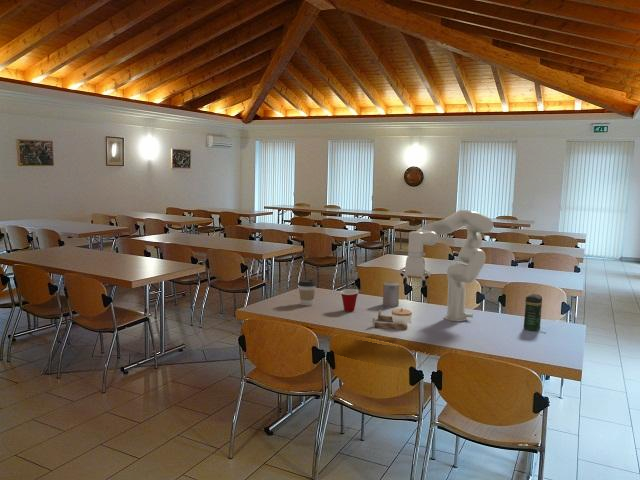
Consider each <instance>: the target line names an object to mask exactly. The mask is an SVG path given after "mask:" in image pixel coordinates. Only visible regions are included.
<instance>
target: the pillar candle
mask: <svg viewBox="0 0 640 480" xmlns="http://www.w3.org/2000/svg"><path fill="white" fill-rule="evenodd" d="M382 285H383V287H382V293H383V294H382V306H384V307H385V308H398V307H399V304H400V303H399V302H400V301H399V299H400V283H398V282H394V281H386V282H383V284H382Z"/></svg>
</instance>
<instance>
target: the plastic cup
mask: <svg viewBox="0 0 640 480" xmlns="http://www.w3.org/2000/svg"><path fill="white" fill-rule="evenodd" d="M339 293H340V295H341V297H342V298H341V299H342V304H343V310H344V312H347V313H348V312H349V313H351V312H352V313H353V312H354V311H355V309H356V304H357V303H356V302H357V298H358V294H359V290H358V289H354V288H353V289H352V288H348V289H347V288H346V289H342V290H340V292H339Z"/></svg>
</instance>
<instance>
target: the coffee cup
mask: <svg viewBox="0 0 640 480" xmlns="http://www.w3.org/2000/svg"><path fill="white" fill-rule="evenodd" d="M297 285H298V288H299V289H298V290H299V298H300V304H302V305H301V306H303V305H312V304H313V305H314V302H315V301H314V299H315V293H316V287H317V282H316V280H314V279H308V278H307V279H306V278H305V279H304V278H303V279H300V280H299V281H298V283H297ZM313 305H312V306H313Z"/></svg>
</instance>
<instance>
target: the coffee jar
mask: <svg viewBox="0 0 640 480" xmlns="http://www.w3.org/2000/svg"><path fill="white" fill-rule="evenodd" d="M524 304H525V307H524V318H523V329H524V330H527V331H530V332H533V331H535V332H537V331H539V330H540V329H541V321H542V319H541V317H542V307H543V297H542V296H541V295H540V294H537V293H532V294H528V295H527V296H525V303H524Z"/></svg>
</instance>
